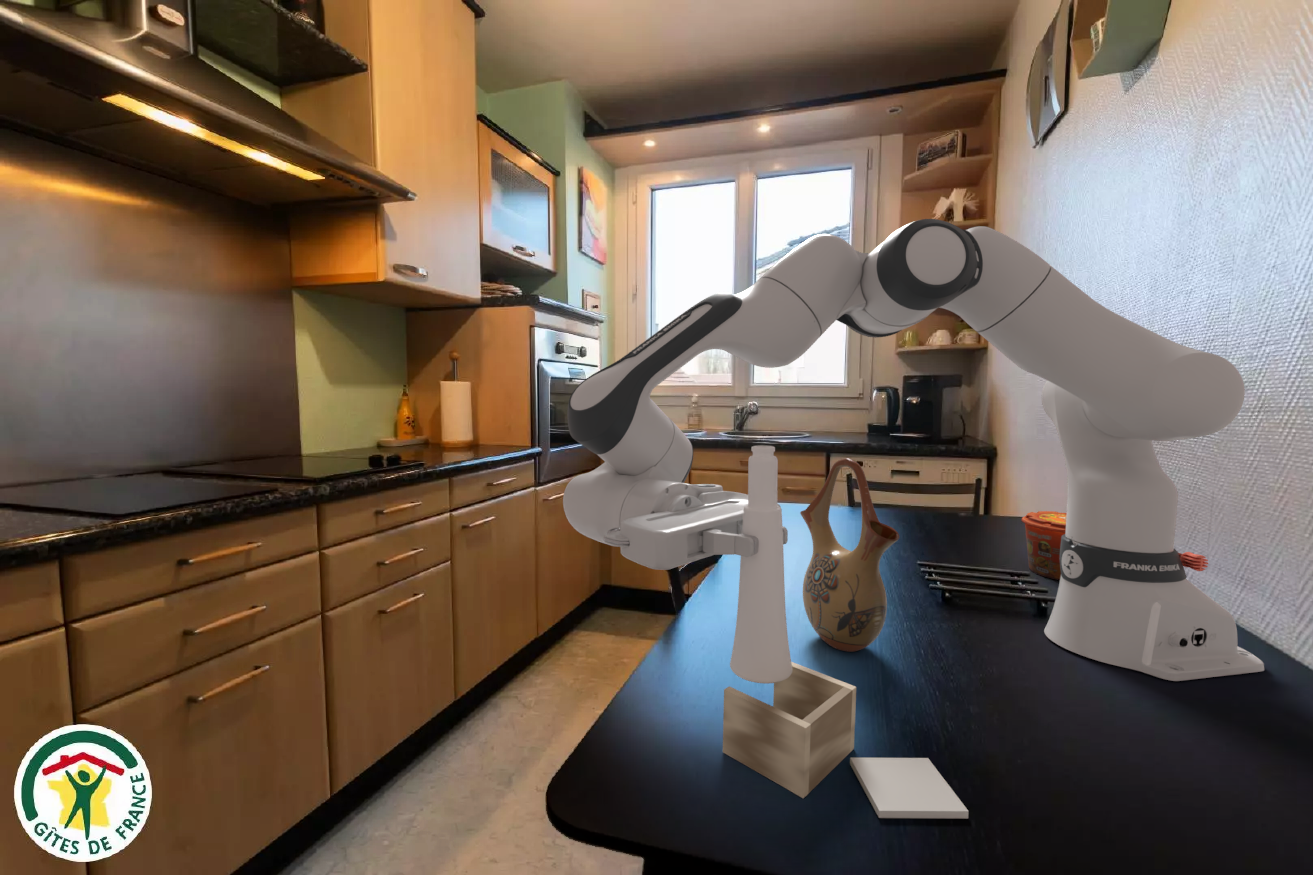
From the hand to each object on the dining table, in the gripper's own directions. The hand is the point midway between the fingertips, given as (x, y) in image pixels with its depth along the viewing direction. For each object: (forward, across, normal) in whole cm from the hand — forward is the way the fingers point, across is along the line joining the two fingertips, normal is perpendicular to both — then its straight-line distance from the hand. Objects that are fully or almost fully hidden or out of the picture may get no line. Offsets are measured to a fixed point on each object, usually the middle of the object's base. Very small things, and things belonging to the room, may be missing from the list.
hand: (770, 542), depth 53 cm
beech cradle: (+2, -1, +19) cm, 19 cm away
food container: (+12, +84, +20) cm, 87 cm away
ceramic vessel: (-4, +24, +19) cm, 31 cm away
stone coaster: (+13, +1, +19) cm, 23 cm away
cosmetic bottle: (-1, 0, +13) cm, 13 cm away
